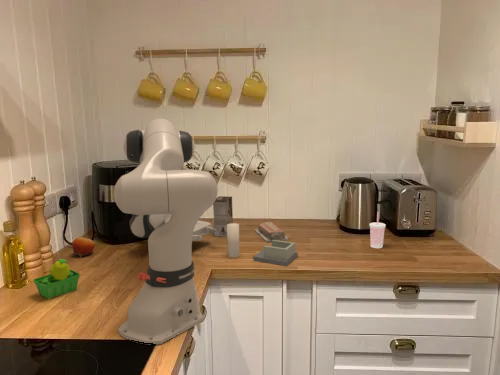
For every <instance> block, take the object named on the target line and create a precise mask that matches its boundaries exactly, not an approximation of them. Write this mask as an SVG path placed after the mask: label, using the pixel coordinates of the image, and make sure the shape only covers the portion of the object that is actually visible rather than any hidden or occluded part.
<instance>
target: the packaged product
mask: <svg viewBox="0 0 500 375" xmlns="http://www.w3.org/2000/svg"><path fill="white" fill-rule="evenodd" d="M254 232H255V233H256V234H257V235H258V236H259V237H260V238H261V239H262V240H264V241H265V243H272V240H278V241H286V242H289V238H290V237H289V236H287V235H286V233H285V231H284V230H283V229H281V228H280V227H279V226H278V225H276V224H275V223H274V222H272V221H265V222H262V223H260V224H258V226H257V228H256V229H254Z"/></svg>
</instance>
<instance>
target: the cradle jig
mask: <svg viewBox="0 0 500 375" xmlns="http://www.w3.org/2000/svg"><path fill="white" fill-rule="evenodd" d="M298 257H299V252H297V251H296V242H292V241H278V240H272V242H271V246H270V245H263V248H262V249H261V251H259V252H258V253H256V254H254V255H253V256H252V259H253V262H260V263H265V264H266V263H267V264H272V265H278V266H284V267H287V266H288V265H290V264H291V263H292V262H294V260H295V259H297V258H298Z"/></svg>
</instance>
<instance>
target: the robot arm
mask: <svg viewBox="0 0 500 375" xmlns="http://www.w3.org/2000/svg"><path fill="white" fill-rule="evenodd" d="M123 151H124V154H125V156H126V159H127V160H128V161H129V162H130V163H135V164H139V165H137V167H135V168H134V169H133V170H132V171H129V172H128V173H125V174H123V175H121V176H120V177H119V178H118V179H117V181H116V183H115V186H114V190H113V198H114V201H115V204H116V206H117V207H118V209H119V210H120V211H121V212H122V213H124V214H129V215H130V214H131V215H132V216H131V218H130V219H129V228H130V232H131V233H132V234H133V235H134V236H135V237H137V238H139V239H147V245H148V246H147V247H148V263H149V264H148V266H147V270H146V272H143V271H140V272H138V275H137V279H138V280H139V281H143V282H144V284H143V286H142V287H141V289H140V290H139V291H138V293H137V294H136V296H135V298H134V299H133V300H132V302H131V303H130V304H129V307H128V310H127V320H126V321H125V322H123V323H122V324H121V325H120V326H119V327H118V329H117V331H118V334H119V335H120V336H122V337H123V338H124V339H127V340H128V339H130V340H129V341H131V340H134V341H139V342H144V343H153V344H156V345H162V344H164V343H166V342H168V341H169V339H170V340H172V339H174V338H175V337H177V336H178V334H179V335H181V334H182V333H184V332H186V331H188V330H190V329H192V328H193V327H195V326H196V325H199V324H200V323H202V322H204V319H205V318H204V315H203V313H202V312H201V307H200V300H199V293H198V288H197V286H196V284H195V280H194V277H195V265H194V264H195V263H194V261H193V255H192V254H193V253H192V248H193V247H192V246H193V242H194V241H195V242H197V241H199V242H201V241H202V240H204V236H205V235H206V234H209V233H210V234H211V235H214V234H215V233H216V229H214V228H213V226H212V223H211V222H209V221H205V220H200V218H201V217H202V216H203V215H204V213H205V212H206V211H208V210H209V209H210V208H211V207H213V204H214V202H215V200H216V198H217V197H218V191H219V190H218V189H219V188H218V184H217V182H216V179H215V178H214V176H213V175H212V173H211V172H210V171H205V170H199V169H193V168H190V169H183V167H184V164H185V163H188V162H190V161H191V159H192V157H193V154H194V153H195V143H194V140H193V137H192V135H191V134H190V133H189V132H188V131H184V130H183V131H182V130H177V128H176V126H175V125H174V123H172V122H171V121H170V120H168V119H166V118H155V119H153V120H151V121H150V122H149V123H148V124H147V125H146V127H145V129H143V130H139V129H134V130H131V131H129V132H128V133H126V136H125V138H124V142H123ZM185 330H186V331H185ZM183 331H184V332H183ZM181 332H182V333H181ZM180 333H181V334H180ZM176 335H177V336H176ZM171 338H172V339H171ZM167 340H168V341H167ZM134 341H133V342H134ZM165 341H166V342H165ZM163 342H164V343H163Z"/></svg>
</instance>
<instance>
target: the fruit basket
mask: <svg viewBox="0 0 500 375" xmlns="http://www.w3.org/2000/svg"><path fill="white" fill-rule="evenodd" d="M67 263H68V262H67V260H66V259H64V258H59V259H58V260H57V261H55V262H54V263H53V264H52V265H51V267H50V268H49V273H50V274H46V275H44V276H40V277H37V278H36V277H35V278H33V280H32V281H33V283H34V284H35V286H36V290H37V291H38V293H39V295H40V294H41V295H42V297H43V296H44V297H43V298H45V297H46V298H45V299H47V298H50V299H52V298H51V297H53V298H55V297H54V296H56V297H58V296H57V295H59V296H62V295H64V293H65V294H67V293H70V292H73V291H76V290H77V286H78V283H79V278H80V276H81V273H79V272H78V271H75V270H73V269H71V268H70V266H69V264H67ZM61 294H62V295H61ZM41 295H40V296H41Z"/></svg>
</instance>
